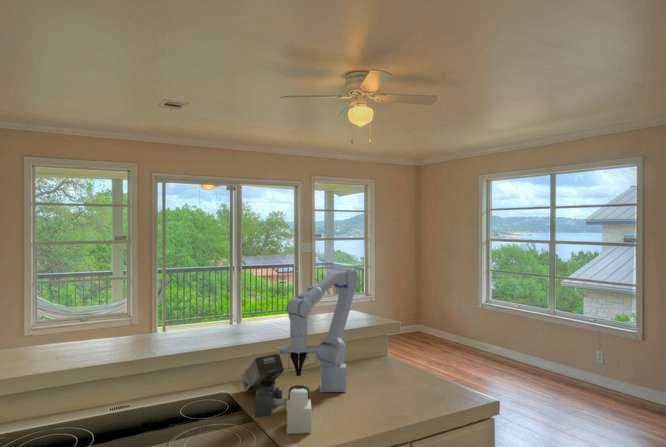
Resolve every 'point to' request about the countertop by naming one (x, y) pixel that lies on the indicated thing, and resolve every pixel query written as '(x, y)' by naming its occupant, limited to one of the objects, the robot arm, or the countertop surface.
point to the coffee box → (262, 371)
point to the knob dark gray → (277, 393)
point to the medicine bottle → (298, 410)
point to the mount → (265, 399)
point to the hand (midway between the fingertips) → (298, 374)
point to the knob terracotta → (279, 402)
